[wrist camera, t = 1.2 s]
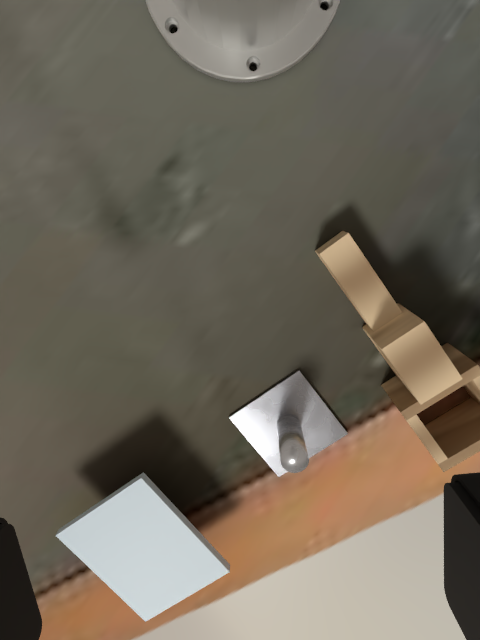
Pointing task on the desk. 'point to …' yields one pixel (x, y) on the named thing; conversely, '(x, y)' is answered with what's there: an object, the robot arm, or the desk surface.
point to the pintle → (288, 424)
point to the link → (411, 357)
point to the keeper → (143, 548)
